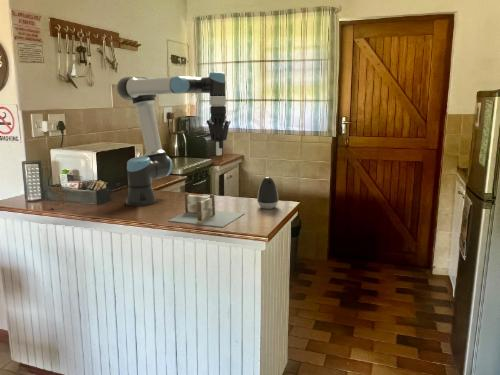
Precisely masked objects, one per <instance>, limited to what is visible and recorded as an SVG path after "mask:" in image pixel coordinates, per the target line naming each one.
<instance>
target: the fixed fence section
mask: <svg viewBox="0 0 500 375" xmlns="http://www.w3.org/2000/svg"><path fill="white" fill-rule="evenodd" d="M208 198H212V211H213V215H215V211H216V207H215V206H216V205H215V203H216V202H215V194H214V193H213V194H209V196H203V195H193V194H192V195H191V194H190V193H189V192H184V207H185V208H184V209H185V212H187V213H194V214H197V202H201V201H203V200H205V199H208ZM185 212H184V213H185Z"/></svg>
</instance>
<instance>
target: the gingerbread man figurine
mask: <svg viewBox="0 0 500 375" xmlns="http://www.w3.org/2000/svg"><path fill="white" fill-rule="evenodd" d="M62 192H64V193H62ZM54 193H57V194H54ZM51 194H52V195H53V196H56V199H55V203H54V205H53V207H54V206H58V205H62V204H66V203H67V201H66V200H65V199H64V198H65V197H67V196H68V193H67V191H66V190H63V186H62V184H59V183H58V184H55V187H54V188H52V189H51ZM61 199H62V200H63V201H62V200H61ZM57 202H58V203H57ZM60 203H61V204H60Z"/></svg>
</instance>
